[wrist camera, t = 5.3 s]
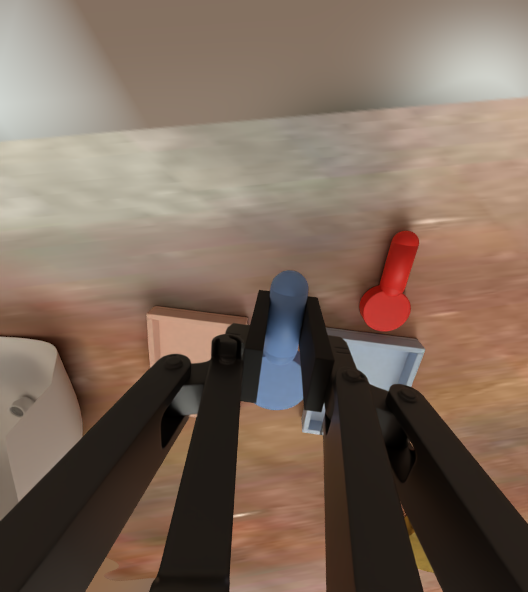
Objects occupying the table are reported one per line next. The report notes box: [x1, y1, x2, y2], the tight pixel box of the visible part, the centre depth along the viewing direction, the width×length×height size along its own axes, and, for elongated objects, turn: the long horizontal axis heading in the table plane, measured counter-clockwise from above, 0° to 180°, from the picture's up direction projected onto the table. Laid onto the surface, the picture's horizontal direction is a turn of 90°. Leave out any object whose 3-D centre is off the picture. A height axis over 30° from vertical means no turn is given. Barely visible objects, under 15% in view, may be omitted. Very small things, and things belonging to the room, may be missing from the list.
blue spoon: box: [255, 270, 308, 410], centre depth 17 cm, size 10×4×2 cm, turn 174°
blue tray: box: [301, 327, 425, 435], centre depth 31 cm, size 13×10×2 cm
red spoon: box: [359, 231, 419, 331], centre depth 26 cm, size 10×4×2 cm, turn 174°
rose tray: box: [146, 306, 248, 417], centre depth 31 cm, size 13×10×2 cm
